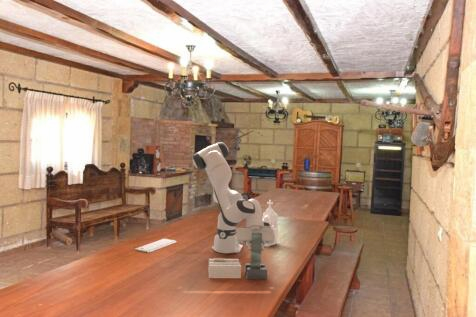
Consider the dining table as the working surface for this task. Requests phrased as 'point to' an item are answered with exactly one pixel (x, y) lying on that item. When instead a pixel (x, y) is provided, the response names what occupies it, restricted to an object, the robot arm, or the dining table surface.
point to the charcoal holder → (256, 272)
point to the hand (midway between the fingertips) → (256, 249)
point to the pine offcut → (218, 259)
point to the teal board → (256, 250)
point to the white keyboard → (155, 245)
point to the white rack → (224, 269)
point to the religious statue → (271, 221)
